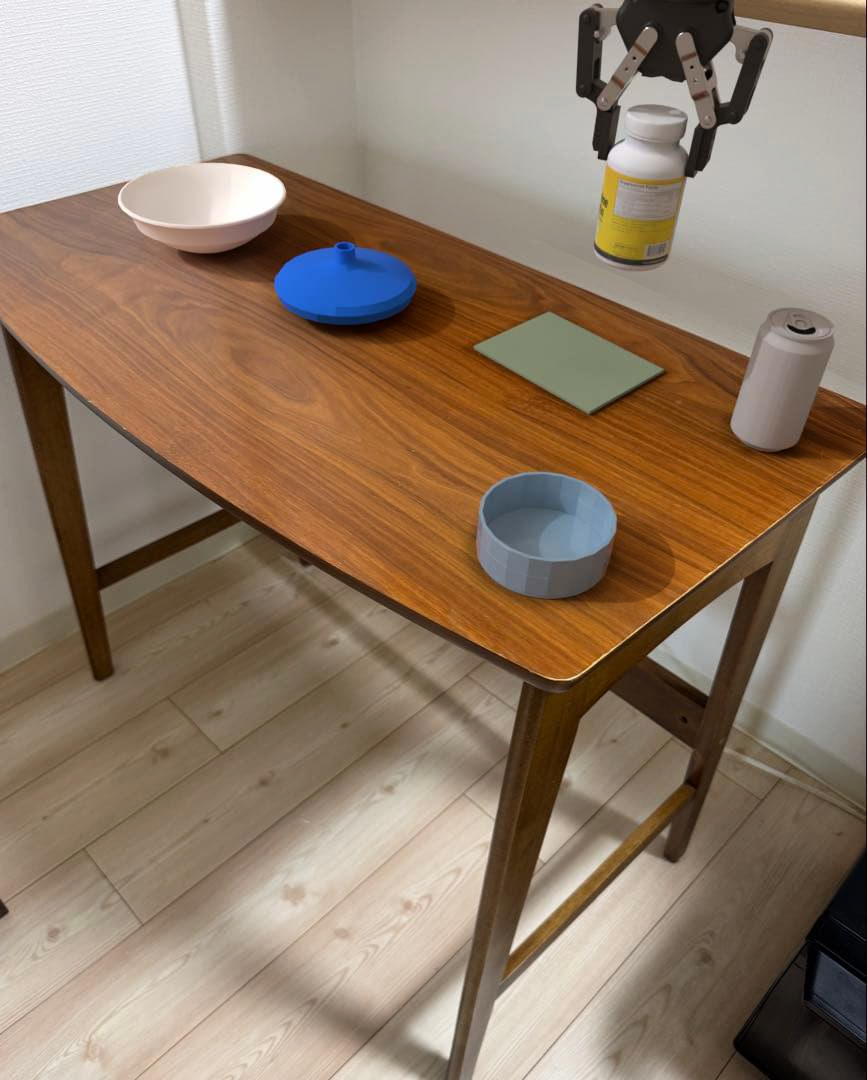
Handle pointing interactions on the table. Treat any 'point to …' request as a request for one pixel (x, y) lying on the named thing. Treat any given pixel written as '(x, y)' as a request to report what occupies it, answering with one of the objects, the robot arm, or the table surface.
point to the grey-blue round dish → (545, 534)
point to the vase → (345, 285)
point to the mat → (569, 361)
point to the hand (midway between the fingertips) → (648, 165)
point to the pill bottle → (643, 190)
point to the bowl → (203, 205)
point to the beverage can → (782, 378)
